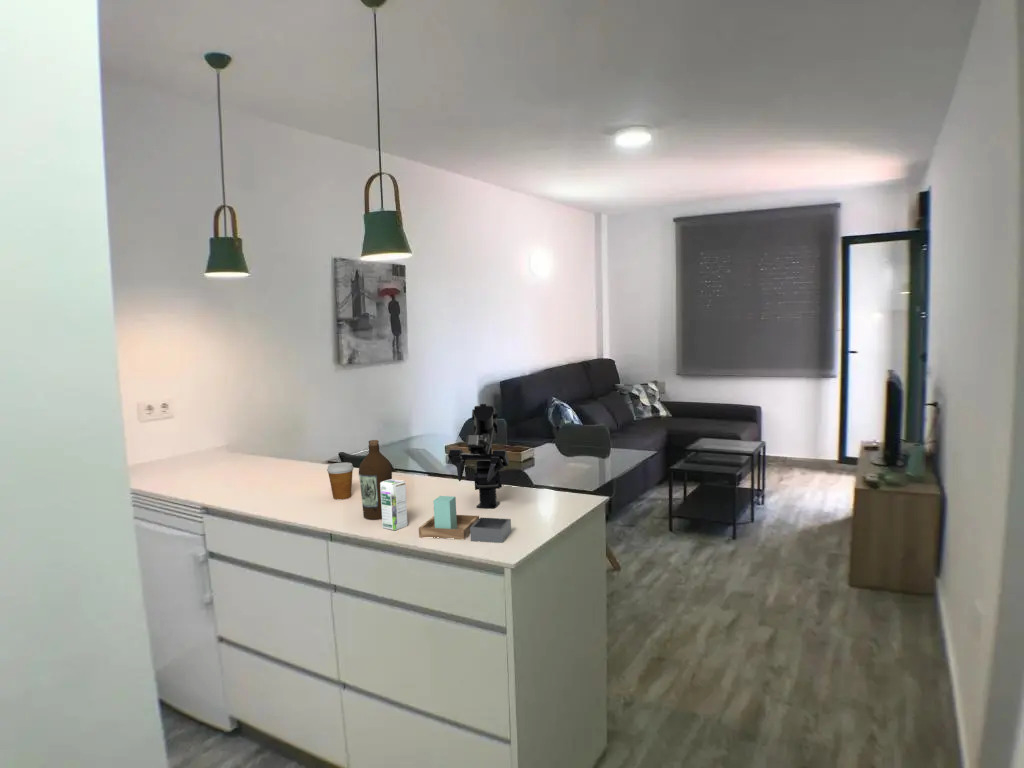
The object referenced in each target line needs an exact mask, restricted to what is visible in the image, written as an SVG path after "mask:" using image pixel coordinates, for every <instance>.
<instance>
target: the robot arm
mask: <svg viewBox="0 0 1024 768" xmlns="http://www.w3.org/2000/svg"><path fill="white" fill-rule="evenodd" d="M471 418H472V419H471V420H472V421H473V429H474V434H468V435H466V440H465V446H467V447H468V448H467V450H468V452H470V453H464V451H463V449H462V448H451V449H449V451H448V453H447V457H448V459H449V461H450V463H451V465H454V466H455V468H456V471H457V479H458V482H461V480H462V479H463V475H464V473H465V472H464V470H465V467H466V466H465V463H466V461H477V462H476V466H475V467H476V469H475V471H473V472H474V473H473V477H474V478H473V479H474V490H475V491H478V490H479V491H478V493H479V494H478V495H479V496H478V497H479V503H478V504H477V505H476V506H475V507H476V508H481V509H495V508H497V507H498V506H499V504H501V501H498V499H497V489H499V490H500V489H501V488H502V487H503V482H502V474H501V472H500V470H501V469H504V468H505V467H509V463H510V458H509V455H508V453H507V451H506V449H493V445H492V443H493V442H494V441H495V440H496V439H497V438H496V434H498V419H497V418H498V411H497V409H496V408H494V406H493V404H492V405H491V404H490V405H489V404H488V405H487V404H486V403H480V404H479V405H475V406H474V407H473V409H472V411H471Z"/></svg>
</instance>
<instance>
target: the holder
mask: <svg viewBox="0 0 1024 768" xmlns="http://www.w3.org/2000/svg"><path fill="white" fill-rule="evenodd" d="M511 533H512V519H511V518H502V517H500V518H498V517H497V518H495V517H479V519H478V520H477V521H476V522H475V523H474V524H473V525H472V526H471V527H470V534H469V536H470V542H478V541H480V542H482V543H497V544H502V543H503V542H504V541H505V540H506V539H507V537H509V536H510V534H511ZM480 542H479V543H480Z"/></svg>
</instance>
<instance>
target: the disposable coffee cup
mask: <svg viewBox="0 0 1024 768" xmlns="http://www.w3.org/2000/svg"><path fill="white" fill-rule="evenodd" d="M354 468H355V467H354V466H353V463H351V462H335V463H332V464H329V465H327V469H326V472H327V473H328V477H329V483H330V488H331V492H332V493H331V494H332V498H333V499H334V500H337V499H341V500H347V499H350V498H351V497H352V488H353V487H352V486H353V471H354ZM349 497H350V498H349ZM346 498H347V499H346Z"/></svg>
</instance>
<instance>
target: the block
mask: <svg viewBox="0 0 1024 768" xmlns="http://www.w3.org/2000/svg"><path fill="white" fill-rule="evenodd" d="M432 502H433V516H434V520H435V528H445V529H457V516H456V515H457V501H456V496H452V495H451V496H450V495H439V496H438V497H437V498H436V497H435V499H434V500H433V501H432Z"/></svg>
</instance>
